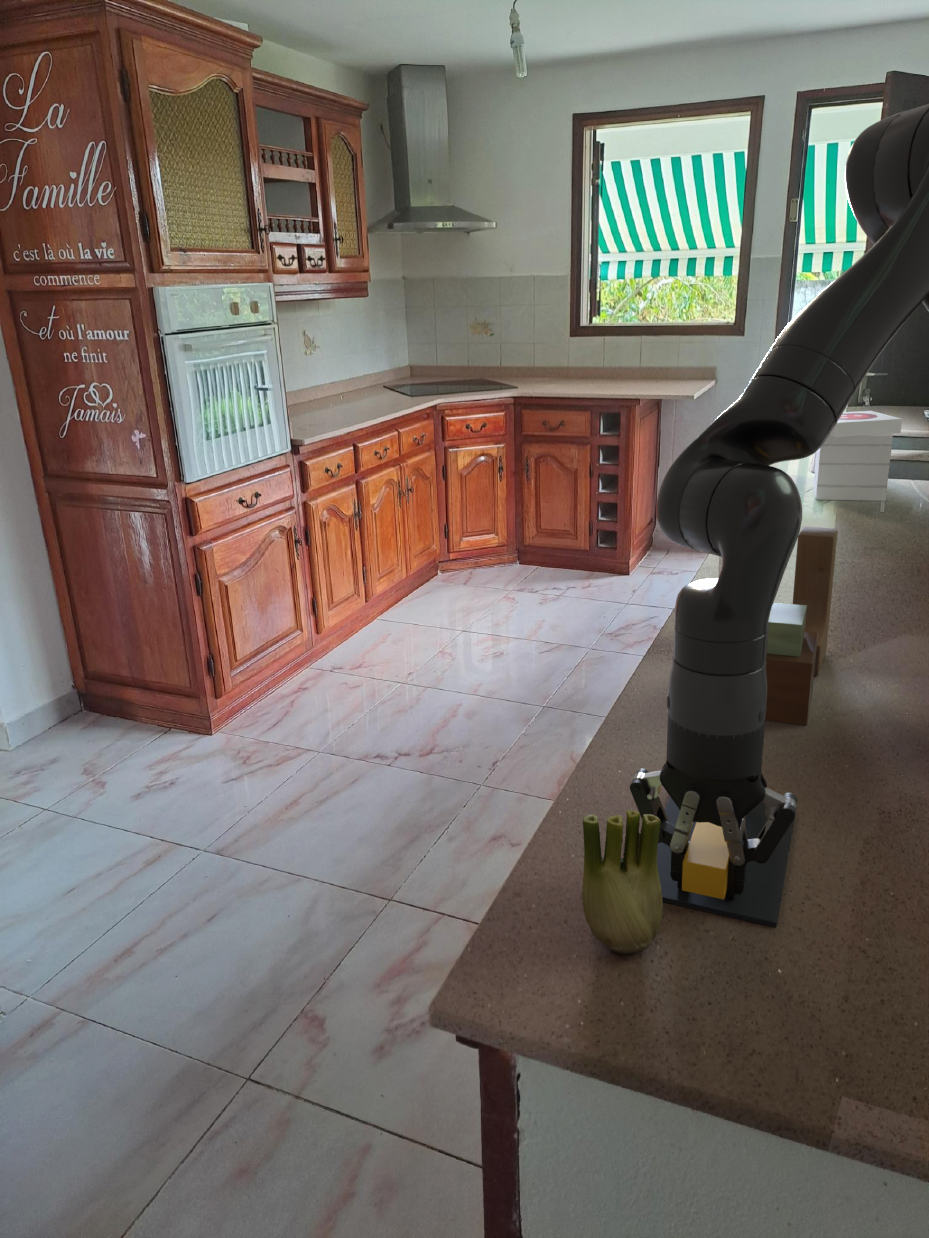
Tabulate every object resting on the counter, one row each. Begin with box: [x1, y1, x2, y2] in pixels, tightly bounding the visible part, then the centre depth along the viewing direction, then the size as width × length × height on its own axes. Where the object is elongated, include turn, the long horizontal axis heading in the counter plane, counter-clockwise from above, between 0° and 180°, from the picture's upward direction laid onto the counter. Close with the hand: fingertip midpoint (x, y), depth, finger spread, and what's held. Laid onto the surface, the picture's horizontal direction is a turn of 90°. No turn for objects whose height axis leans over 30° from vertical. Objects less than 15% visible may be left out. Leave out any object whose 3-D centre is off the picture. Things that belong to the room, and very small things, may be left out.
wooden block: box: [792, 526, 839, 677], centre depth 117 cm, size 9×4×18 cm, turn 153°
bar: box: [682, 822, 730, 899], centre depth 81 cm, size 18×4×3 cm, turn 156°
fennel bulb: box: [581, 809, 664, 955], centre depth 70 cm, size 6×5×12 cm
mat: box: [657, 796, 795, 928], centre depth 82 cm, size 18×12×1 cm, turn 156°
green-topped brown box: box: [765, 602, 818, 726], centre depth 108 cm, size 10×10×12 cm
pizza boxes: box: [811, 410, 903, 502], centre depth 212 cm, size 19×30×18 cm, turn 162°
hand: (706, 887), depth 76 cm, fingers closed on bar, 3 cm apart
